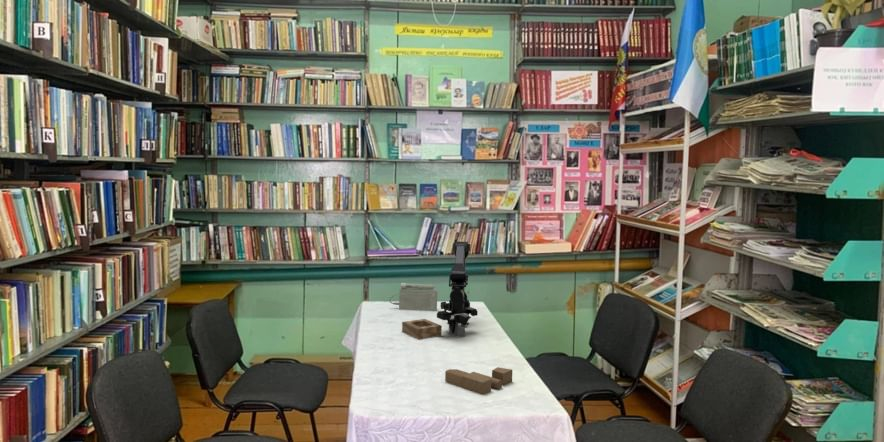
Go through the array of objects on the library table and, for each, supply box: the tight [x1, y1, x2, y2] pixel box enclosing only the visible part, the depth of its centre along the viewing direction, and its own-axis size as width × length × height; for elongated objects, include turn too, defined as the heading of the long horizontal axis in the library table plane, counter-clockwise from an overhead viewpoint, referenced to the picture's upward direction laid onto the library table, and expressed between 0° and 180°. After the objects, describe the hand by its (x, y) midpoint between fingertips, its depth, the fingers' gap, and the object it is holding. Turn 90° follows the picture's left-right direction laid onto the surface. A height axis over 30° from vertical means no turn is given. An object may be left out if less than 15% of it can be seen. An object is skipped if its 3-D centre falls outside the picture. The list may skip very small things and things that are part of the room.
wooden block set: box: [444, 367, 513, 395], centre depth 211 cm, size 17×6×18 cm
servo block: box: [446, 321, 468, 338], centre depth 271 cm, size 4×10×6 cm, turn 33°
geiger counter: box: [389, 282, 438, 312], centre depth 316 cm, size 14×6×25 cm
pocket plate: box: [401, 318, 443, 340], centre depth 271 cm, size 12×14×4 cm
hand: (456, 332), depth 271 cm, fingers open, 4 cm apart
